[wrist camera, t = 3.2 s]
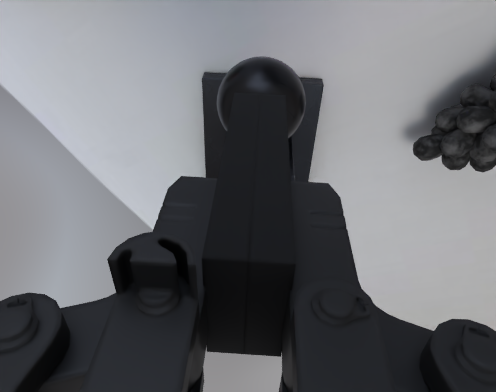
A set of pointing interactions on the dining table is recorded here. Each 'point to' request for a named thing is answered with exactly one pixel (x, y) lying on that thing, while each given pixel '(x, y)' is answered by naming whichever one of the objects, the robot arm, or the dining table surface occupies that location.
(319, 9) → the dining table surface
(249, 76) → the tap lever
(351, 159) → the dining table surface
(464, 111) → the fruit
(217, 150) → the lever stand
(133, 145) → the dining table surface
